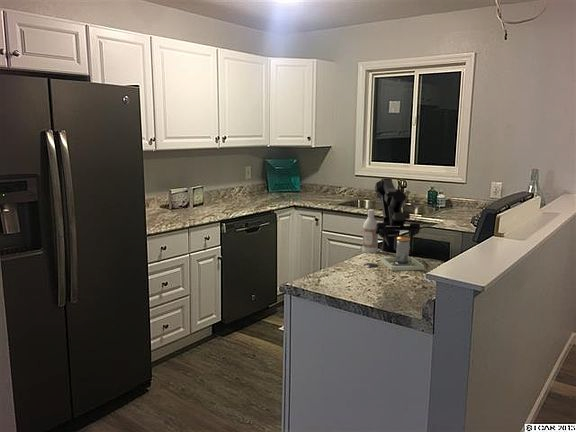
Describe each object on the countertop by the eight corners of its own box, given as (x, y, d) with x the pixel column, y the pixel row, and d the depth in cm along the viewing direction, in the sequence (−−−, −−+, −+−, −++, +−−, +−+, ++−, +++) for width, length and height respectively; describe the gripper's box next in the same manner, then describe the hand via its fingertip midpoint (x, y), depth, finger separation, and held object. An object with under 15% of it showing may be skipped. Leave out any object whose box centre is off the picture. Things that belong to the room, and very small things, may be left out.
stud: (361, 265, 196) (361, 263, 196) (376, 265, 197) (376, 263, 196) (365, 270, 190) (365, 267, 189) (380, 269, 190) (380, 267, 190)
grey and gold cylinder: (391, 265, 195) (393, 236, 192) (402, 263, 197) (403, 235, 195) (401, 268, 190) (402, 239, 187) (412, 266, 192) (413, 238, 190)
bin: (381, 263, 199) (381, 257, 199) (411, 262, 201) (411, 256, 200) (391, 272, 186) (391, 266, 186) (423, 271, 187) (424, 265, 187)
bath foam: (360, 252, 218) (361, 210, 214) (365, 249, 224) (366, 208, 220) (374, 254, 215) (375, 211, 211) (379, 250, 221) (380, 209, 217)
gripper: (377, 204, 200) (380, 235, 192) (420, 204, 200) (425, 235, 191) (373, 218, 210) (376, 248, 201) (415, 218, 209) (420, 248, 200)
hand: (399, 245), depth 198 cm, fingers open, 9 cm apart
